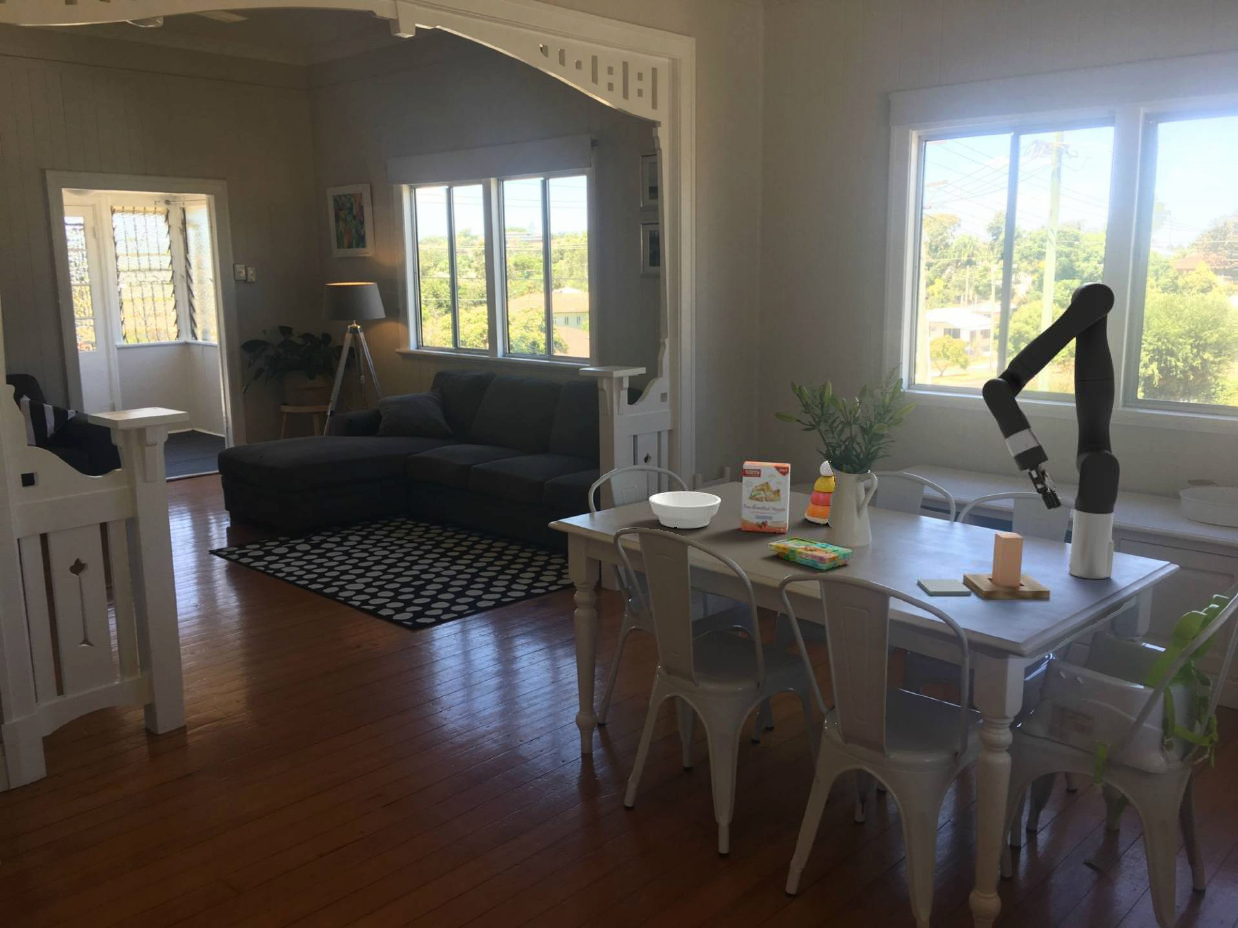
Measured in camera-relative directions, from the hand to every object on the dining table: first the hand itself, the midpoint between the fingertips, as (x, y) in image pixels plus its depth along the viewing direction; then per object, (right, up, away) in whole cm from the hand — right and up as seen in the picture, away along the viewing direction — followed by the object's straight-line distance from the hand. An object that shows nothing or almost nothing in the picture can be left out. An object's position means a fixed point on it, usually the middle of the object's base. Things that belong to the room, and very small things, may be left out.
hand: (1055, 507), depth 253 cm
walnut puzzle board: (-14, -20, -4) cm, 25 cm away
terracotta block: (-14, -20, -4) cm, 25 cm away
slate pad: (-29, -20, -3) cm, 36 cm away
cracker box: (-65, -9, +55) cm, 86 cm away
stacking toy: (-44, -7, +67) cm, 80 cm away
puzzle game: (-58, -16, +23) cm, 64 cm away
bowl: (-89, -8, +62) cm, 109 cm away
